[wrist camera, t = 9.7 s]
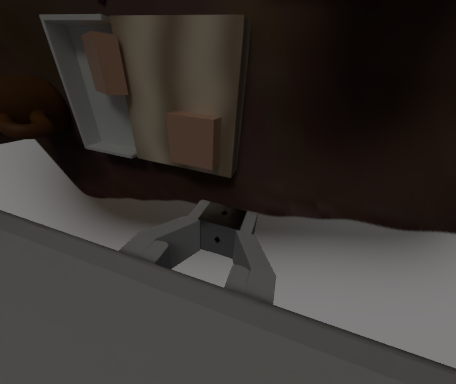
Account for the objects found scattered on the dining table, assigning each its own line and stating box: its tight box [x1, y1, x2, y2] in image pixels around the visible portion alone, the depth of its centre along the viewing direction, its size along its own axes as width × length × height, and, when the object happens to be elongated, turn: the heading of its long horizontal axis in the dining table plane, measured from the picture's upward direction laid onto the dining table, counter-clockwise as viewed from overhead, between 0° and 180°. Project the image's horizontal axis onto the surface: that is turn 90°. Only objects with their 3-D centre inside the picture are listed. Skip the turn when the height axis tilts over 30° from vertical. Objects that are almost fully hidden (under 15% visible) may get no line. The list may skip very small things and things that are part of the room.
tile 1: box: [81, 31, 128, 95], centre depth 20 cm, size 5×5×2 cm
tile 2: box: [166, 111, 221, 170], centre depth 20 cm, size 5×5×2 cm
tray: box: [39, 14, 137, 159], centre depth 23 cm, size 8×14×3 cm, turn 176°
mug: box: [0, 75, 69, 144], centre depth 24 cm, size 12×8×9 cm, turn 75°
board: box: [110, 15, 252, 178], centre depth 20 cm, size 13×14×2 cm
